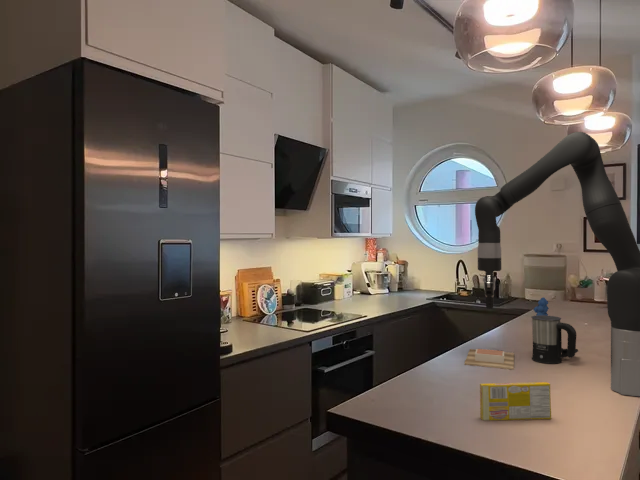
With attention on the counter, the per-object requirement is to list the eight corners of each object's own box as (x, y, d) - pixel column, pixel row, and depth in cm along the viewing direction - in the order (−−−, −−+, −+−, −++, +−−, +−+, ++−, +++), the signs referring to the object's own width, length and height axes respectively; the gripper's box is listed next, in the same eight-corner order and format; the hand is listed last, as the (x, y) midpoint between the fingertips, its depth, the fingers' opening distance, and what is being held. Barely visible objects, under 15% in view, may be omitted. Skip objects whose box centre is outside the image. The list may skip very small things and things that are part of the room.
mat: (513, 369, 148) (513, 367, 148) (464, 364, 154) (464, 362, 154) (513, 354, 167) (514, 352, 167) (469, 350, 173) (469, 349, 173)
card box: (504, 358, 160) (503, 363, 154) (476, 355, 163) (475, 360, 157) (504, 350, 160) (503, 355, 154) (476, 348, 163) (475, 352, 157)
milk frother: (529, 362, 157) (529, 318, 157) (533, 351, 171) (534, 311, 171) (578, 367, 150) (578, 321, 150) (578, 356, 164) (578, 314, 164)
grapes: (536, 319, 235) (536, 295, 235) (551, 321, 230) (551, 296, 230) (529, 322, 226) (529, 298, 226) (544, 324, 222) (544, 299, 221)
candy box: (547, 416, 111) (547, 381, 111) (551, 419, 109) (551, 384, 109) (479, 417, 110) (479, 382, 110) (482, 421, 108) (482, 385, 108)
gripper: (500, 257, 150) (501, 311, 150) (501, 255, 162) (502, 305, 162) (476, 257, 153) (476, 310, 153) (478, 255, 165) (479, 304, 165)
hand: (489, 307), depth 157 cm, fingers closed
